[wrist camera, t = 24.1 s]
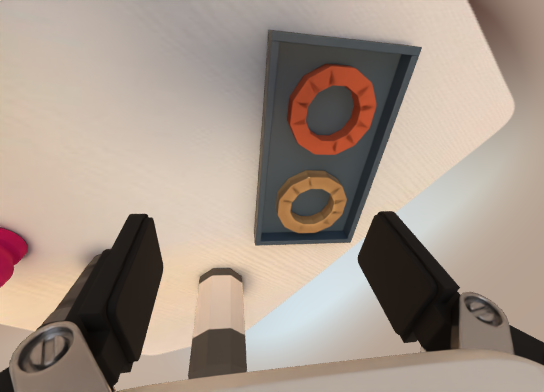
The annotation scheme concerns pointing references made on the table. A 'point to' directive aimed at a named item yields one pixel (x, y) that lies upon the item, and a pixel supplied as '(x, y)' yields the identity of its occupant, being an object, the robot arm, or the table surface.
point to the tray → (324, 129)
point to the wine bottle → (218, 326)
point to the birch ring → (302, 184)
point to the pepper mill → (10, 253)
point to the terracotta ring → (359, 117)
